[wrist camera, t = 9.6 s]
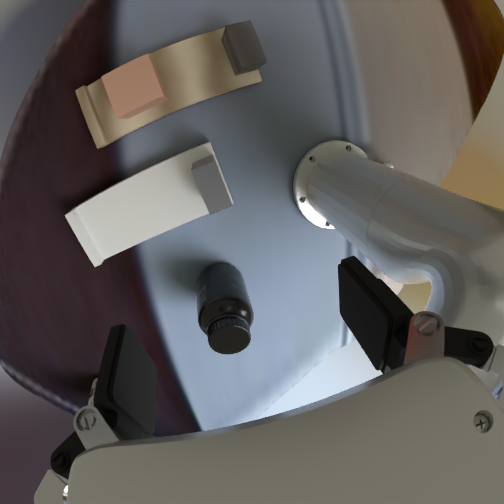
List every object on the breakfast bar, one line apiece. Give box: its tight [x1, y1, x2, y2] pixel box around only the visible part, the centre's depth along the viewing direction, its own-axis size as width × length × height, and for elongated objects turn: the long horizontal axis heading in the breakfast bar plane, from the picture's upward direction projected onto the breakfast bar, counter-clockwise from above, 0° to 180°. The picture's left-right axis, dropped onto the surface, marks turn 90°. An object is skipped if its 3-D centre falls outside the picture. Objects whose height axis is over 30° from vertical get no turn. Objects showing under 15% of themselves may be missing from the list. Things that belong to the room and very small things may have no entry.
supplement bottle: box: [197, 263, 254, 354], centre depth 35 cm, size 7×7×12 cm
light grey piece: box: [65, 141, 234, 267], centre depth 29 cm, size 20×8×7 cm, turn 109°
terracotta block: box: [101, 53, 169, 119], centre depth 22 cm, size 5×5×5 cm
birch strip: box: [75, 21, 267, 149], centre depth 23 cm, size 20×8×7 cm, turn 109°
